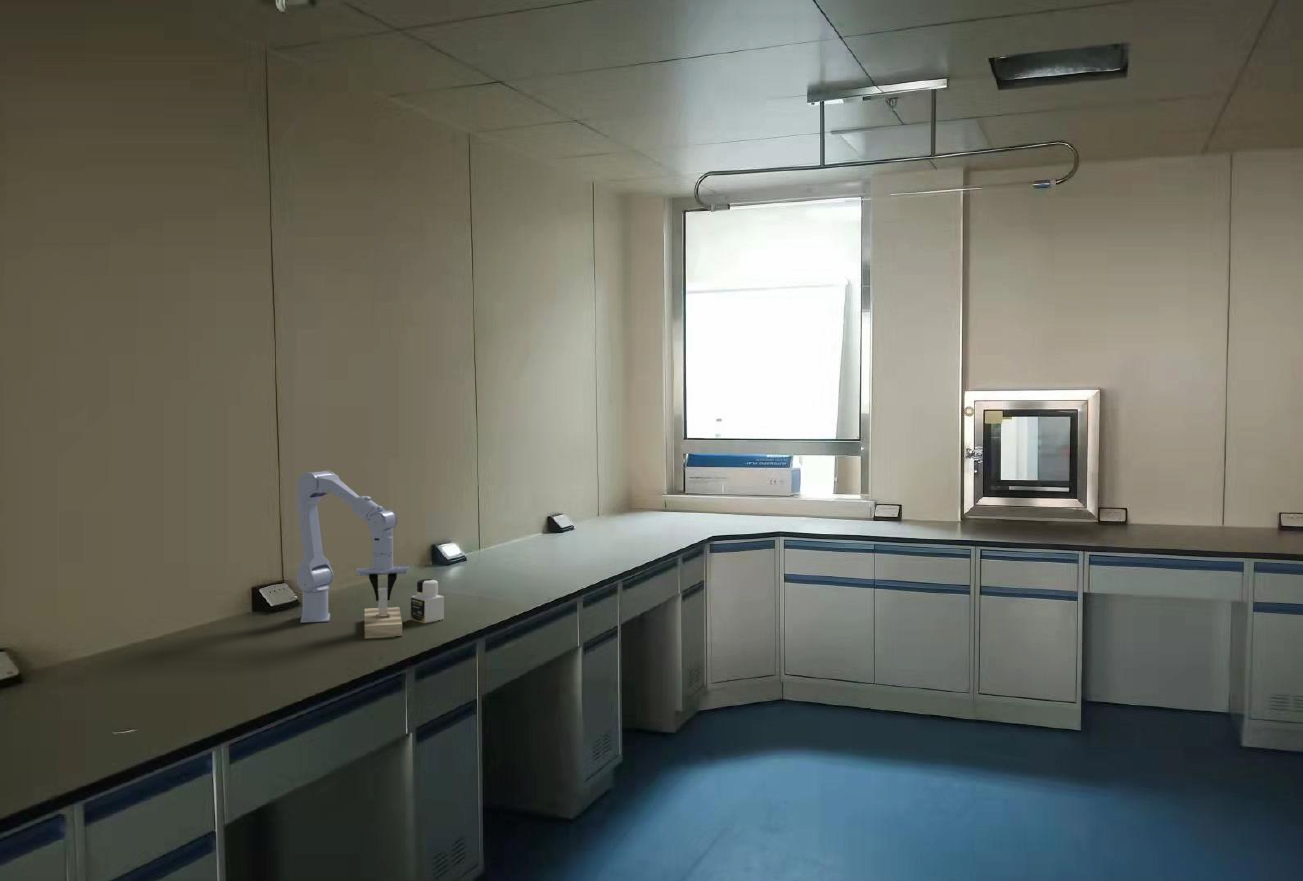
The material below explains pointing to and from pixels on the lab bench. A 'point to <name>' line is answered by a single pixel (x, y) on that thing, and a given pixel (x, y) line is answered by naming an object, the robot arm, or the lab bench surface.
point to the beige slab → (383, 623)
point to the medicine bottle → (427, 602)
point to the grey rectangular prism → (382, 601)
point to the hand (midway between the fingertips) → (382, 599)
